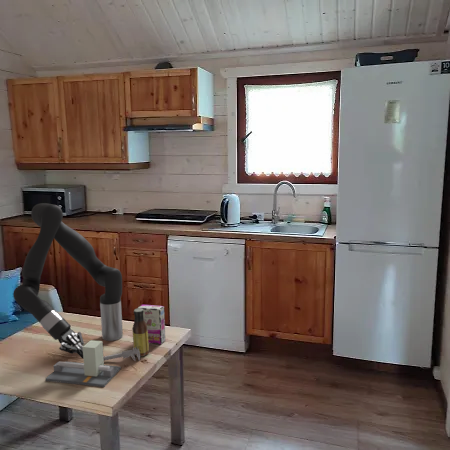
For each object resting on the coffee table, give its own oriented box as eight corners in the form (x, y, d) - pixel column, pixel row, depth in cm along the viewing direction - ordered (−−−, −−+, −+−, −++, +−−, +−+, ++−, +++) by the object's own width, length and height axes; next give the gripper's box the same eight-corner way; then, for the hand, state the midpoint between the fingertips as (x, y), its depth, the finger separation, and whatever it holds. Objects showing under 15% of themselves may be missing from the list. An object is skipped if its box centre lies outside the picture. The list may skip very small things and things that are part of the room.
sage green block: (92, 367, 176) (90, 340, 174) (104, 369, 175) (102, 341, 173) (84, 375, 170) (82, 346, 168) (96, 376, 169) (94, 347, 167)
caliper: (140, 360, 186) (139, 345, 185) (140, 361, 185) (139, 347, 184) (90, 361, 185) (89, 347, 184) (89, 363, 184) (88, 348, 183)
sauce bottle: (141, 349, 195) (139, 305, 192) (152, 352, 192) (150, 308, 188) (130, 354, 190) (128, 310, 187) (140, 358, 186) (138, 313, 183)
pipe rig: (65, 363, 183) (65, 353, 182) (120, 368, 178) (120, 358, 177) (45, 380, 169) (44, 370, 169) (104, 387, 164) (103, 375, 164)
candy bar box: (166, 340, 204) (164, 305, 201) (161, 344, 199) (160, 309, 197) (143, 337, 207) (142, 303, 204) (138, 342, 202) (137, 307, 200)
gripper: (50, 325, 165) (83, 359, 165) (70, 312, 178) (100, 343, 178) (39, 337, 167) (71, 371, 167) (59, 324, 180) (89, 355, 180)
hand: (86, 357), depth 172 cm, fingers closed
